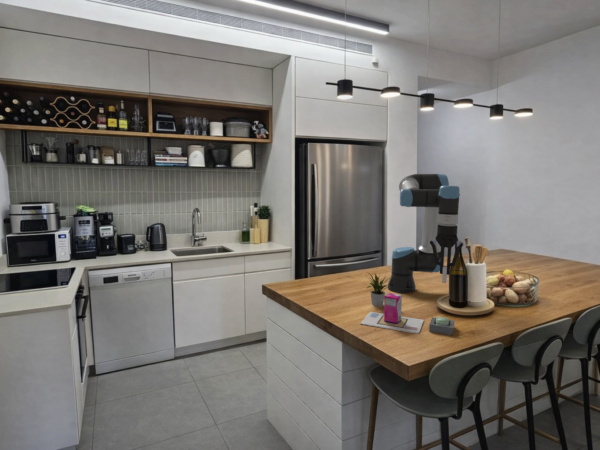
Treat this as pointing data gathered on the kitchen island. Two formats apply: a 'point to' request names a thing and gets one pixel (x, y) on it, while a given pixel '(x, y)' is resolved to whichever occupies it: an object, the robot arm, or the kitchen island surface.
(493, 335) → the kitchen island surface
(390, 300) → the supplement box
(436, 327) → the soap dish
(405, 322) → the picture sheet
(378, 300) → the house plant
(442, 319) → the button
